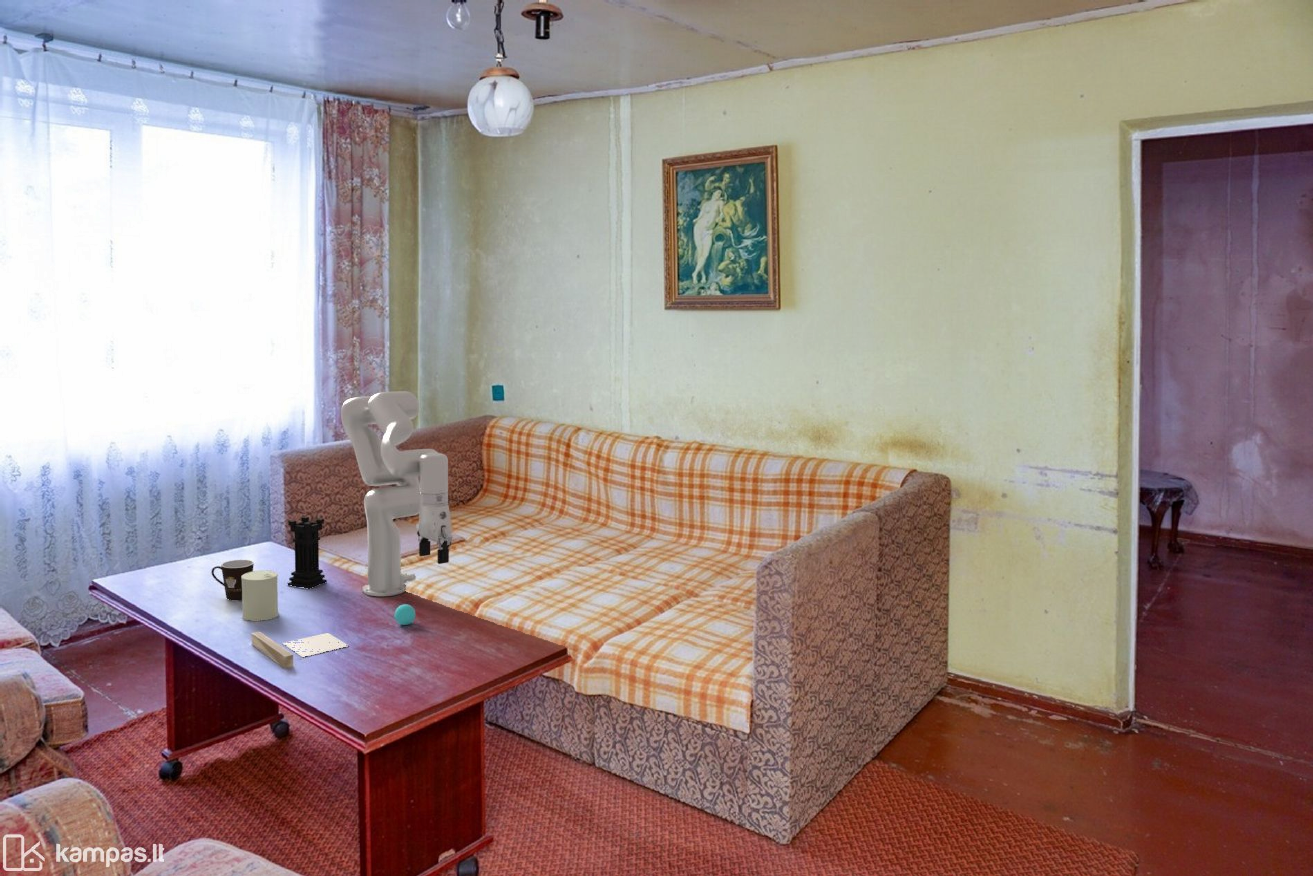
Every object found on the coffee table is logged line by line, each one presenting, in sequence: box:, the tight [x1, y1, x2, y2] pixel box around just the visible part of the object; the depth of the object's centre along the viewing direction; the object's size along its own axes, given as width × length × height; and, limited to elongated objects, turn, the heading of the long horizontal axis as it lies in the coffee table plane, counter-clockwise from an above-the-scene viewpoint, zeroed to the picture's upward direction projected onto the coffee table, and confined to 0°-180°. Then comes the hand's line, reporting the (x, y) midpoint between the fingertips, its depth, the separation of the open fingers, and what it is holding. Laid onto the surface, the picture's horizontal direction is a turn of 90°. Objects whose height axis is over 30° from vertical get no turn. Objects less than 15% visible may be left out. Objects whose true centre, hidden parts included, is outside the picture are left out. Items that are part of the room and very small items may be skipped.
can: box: [241, 570, 279, 622], centre depth 253 cm, size 9×9×12 cm
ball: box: [393, 603, 416, 626], centre depth 252 cm, size 6×6×6 cm
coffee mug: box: [211, 559, 255, 601], centre depth 269 cm, size 12×9×10 cm
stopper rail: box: [251, 631, 294, 670], centre depth 227 cm, size 2×20×3 cm, turn 44°
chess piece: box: [286, 516, 328, 590], centre depth 282 cm, size 8×8×20 cm
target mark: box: [281, 632, 349, 658], centre depth 235 cm, size 12×12×1 cm
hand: (433, 559), depth 256 cm, fingers open, 9 cm apart
